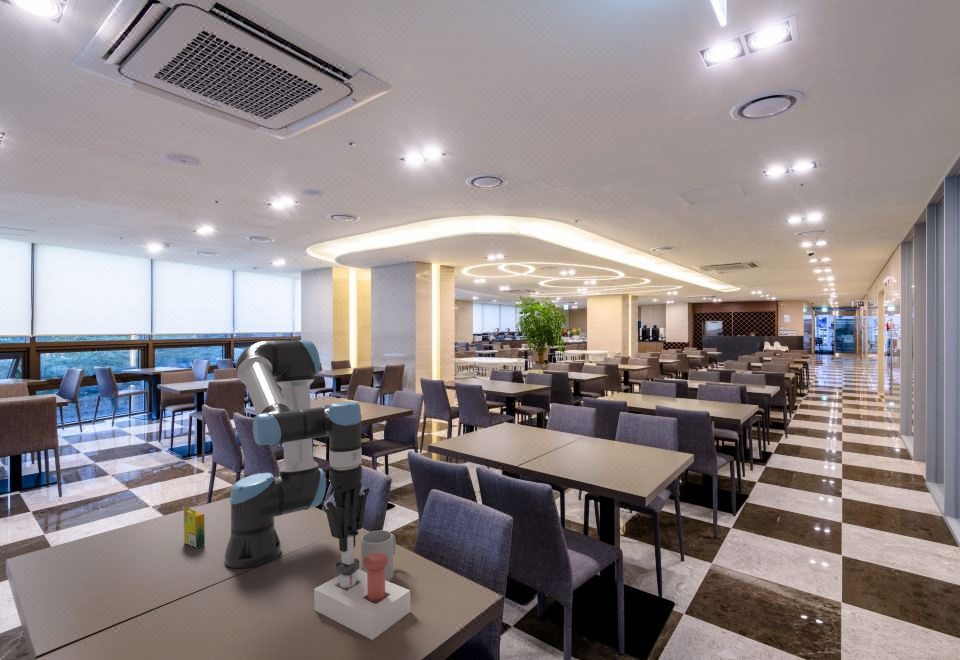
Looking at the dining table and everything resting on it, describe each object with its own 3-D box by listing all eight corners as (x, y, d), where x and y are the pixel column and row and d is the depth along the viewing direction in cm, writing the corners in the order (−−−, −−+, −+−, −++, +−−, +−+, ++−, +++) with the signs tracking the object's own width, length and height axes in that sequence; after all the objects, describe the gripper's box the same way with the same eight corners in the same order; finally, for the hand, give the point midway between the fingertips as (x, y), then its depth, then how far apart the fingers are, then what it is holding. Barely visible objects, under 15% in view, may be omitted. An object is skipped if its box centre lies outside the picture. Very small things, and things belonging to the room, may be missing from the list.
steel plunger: (331, 603, 111) (330, 565, 111) (349, 592, 116) (349, 555, 116) (346, 610, 108) (345, 571, 108) (364, 599, 113) (364, 561, 113)
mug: (380, 588, 119) (380, 546, 119) (354, 581, 122) (354, 540, 122) (407, 567, 129) (406, 528, 129) (382, 561, 133) (381, 523, 133)
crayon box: (205, 545, 146) (204, 508, 146) (195, 548, 143) (194, 511, 143) (193, 539, 150) (193, 504, 150) (183, 543, 147) (183, 506, 147)
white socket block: (314, 610, 110) (314, 589, 110) (353, 586, 120) (353, 567, 120) (372, 640, 99) (371, 616, 99) (410, 611, 109) (410, 590, 109)
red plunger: (358, 600, 106) (358, 560, 106) (377, 589, 110) (376, 550, 110) (375, 608, 103) (375, 567, 103) (393, 596, 107) (393, 556, 107)
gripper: (334, 475, 105) (335, 578, 104) (376, 461, 116) (378, 555, 115) (313, 470, 109) (315, 570, 109) (356, 457, 120) (358, 548, 119)
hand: (347, 562), depth 112 cm, fingers closed
